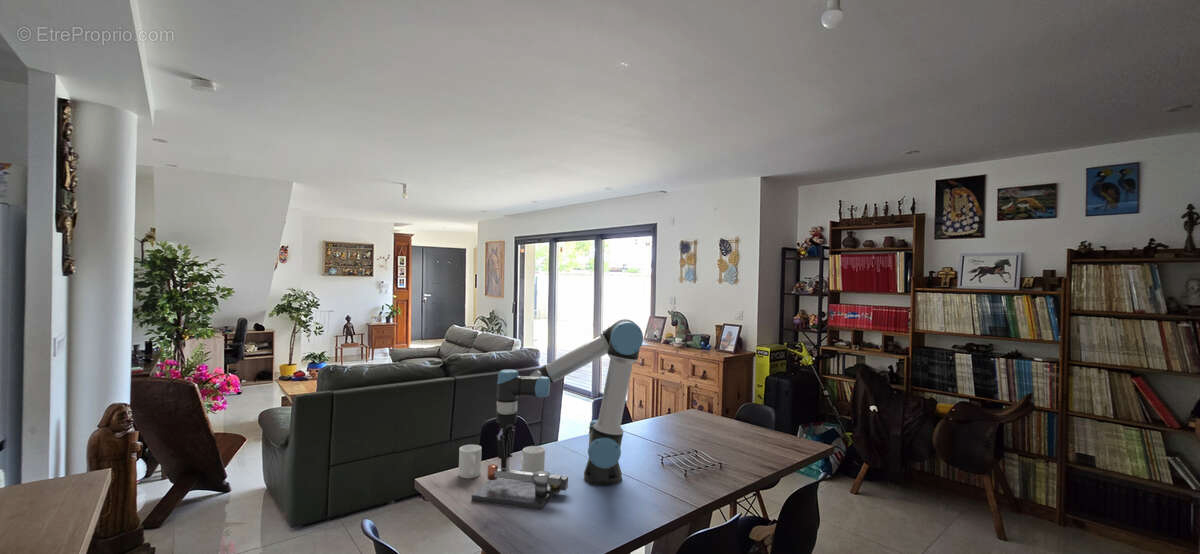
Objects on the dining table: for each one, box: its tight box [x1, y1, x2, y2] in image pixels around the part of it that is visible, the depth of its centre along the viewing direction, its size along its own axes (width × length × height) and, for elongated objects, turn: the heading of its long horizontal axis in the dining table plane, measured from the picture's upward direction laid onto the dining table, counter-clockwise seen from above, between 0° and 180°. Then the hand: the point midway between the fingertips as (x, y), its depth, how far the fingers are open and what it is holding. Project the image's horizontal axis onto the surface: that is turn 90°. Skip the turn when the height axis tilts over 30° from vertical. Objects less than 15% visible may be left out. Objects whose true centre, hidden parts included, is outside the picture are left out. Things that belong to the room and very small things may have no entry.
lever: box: [487, 464, 562, 486], centre depth 177 cm, size 28×6×4 cm, turn 77°
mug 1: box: [458, 444, 483, 479], centre depth 195 cm, size 9×12×11 cm
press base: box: [471, 475, 569, 511], centre depth 177 cm, size 30×16×6 cm, turn 77°
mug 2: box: [519, 445, 546, 473], centre depth 202 cm, size 12×9×9 cm
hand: (504, 475), depth 183 cm, fingers closed
